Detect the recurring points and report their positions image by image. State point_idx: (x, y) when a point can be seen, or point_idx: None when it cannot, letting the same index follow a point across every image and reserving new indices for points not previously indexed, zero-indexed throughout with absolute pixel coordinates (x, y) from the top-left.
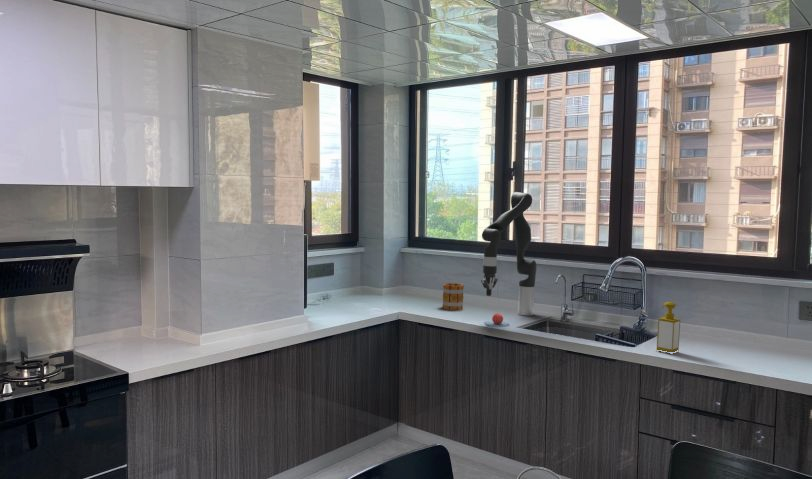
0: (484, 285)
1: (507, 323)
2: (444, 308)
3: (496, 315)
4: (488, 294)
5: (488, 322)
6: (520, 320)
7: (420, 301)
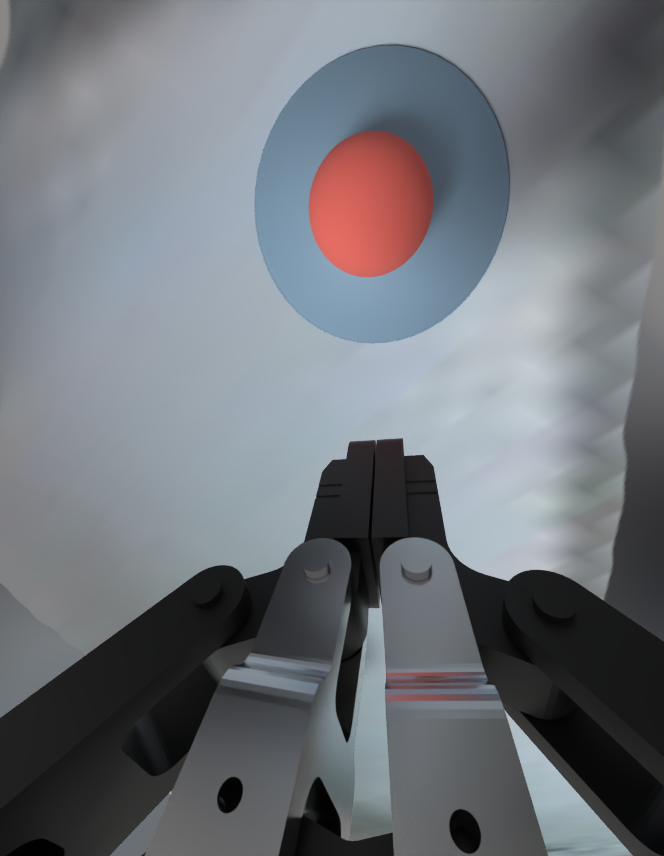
0: (620, 756)
1: (268, 168)
2: None
3: (412, 187)
4: (429, 462)
5: (398, 306)
6: (67, 233)
7: None
